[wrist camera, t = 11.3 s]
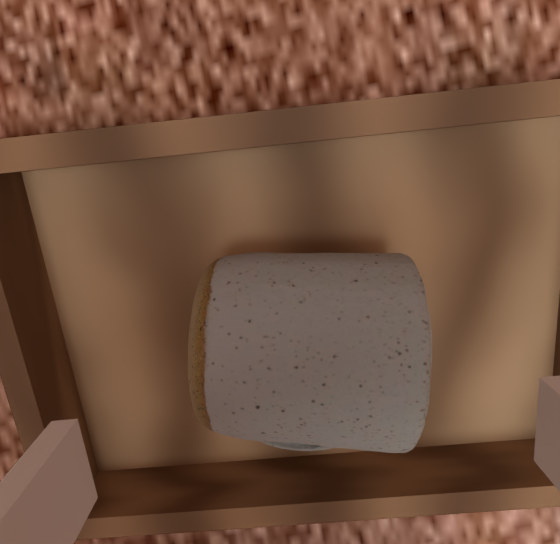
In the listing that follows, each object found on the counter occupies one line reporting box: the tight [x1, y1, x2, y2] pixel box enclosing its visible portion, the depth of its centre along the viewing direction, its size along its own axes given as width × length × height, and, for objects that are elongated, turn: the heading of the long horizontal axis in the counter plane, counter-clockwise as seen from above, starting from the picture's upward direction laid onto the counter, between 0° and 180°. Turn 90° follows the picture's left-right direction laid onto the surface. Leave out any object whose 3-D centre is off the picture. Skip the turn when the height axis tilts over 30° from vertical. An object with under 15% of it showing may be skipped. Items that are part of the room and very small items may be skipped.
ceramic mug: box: [188, 252, 432, 453], centre depth 18 cm, size 11×8×8 cm
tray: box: [0, 79, 560, 540], centre depth 20 cm, size 26×18×4 cm
